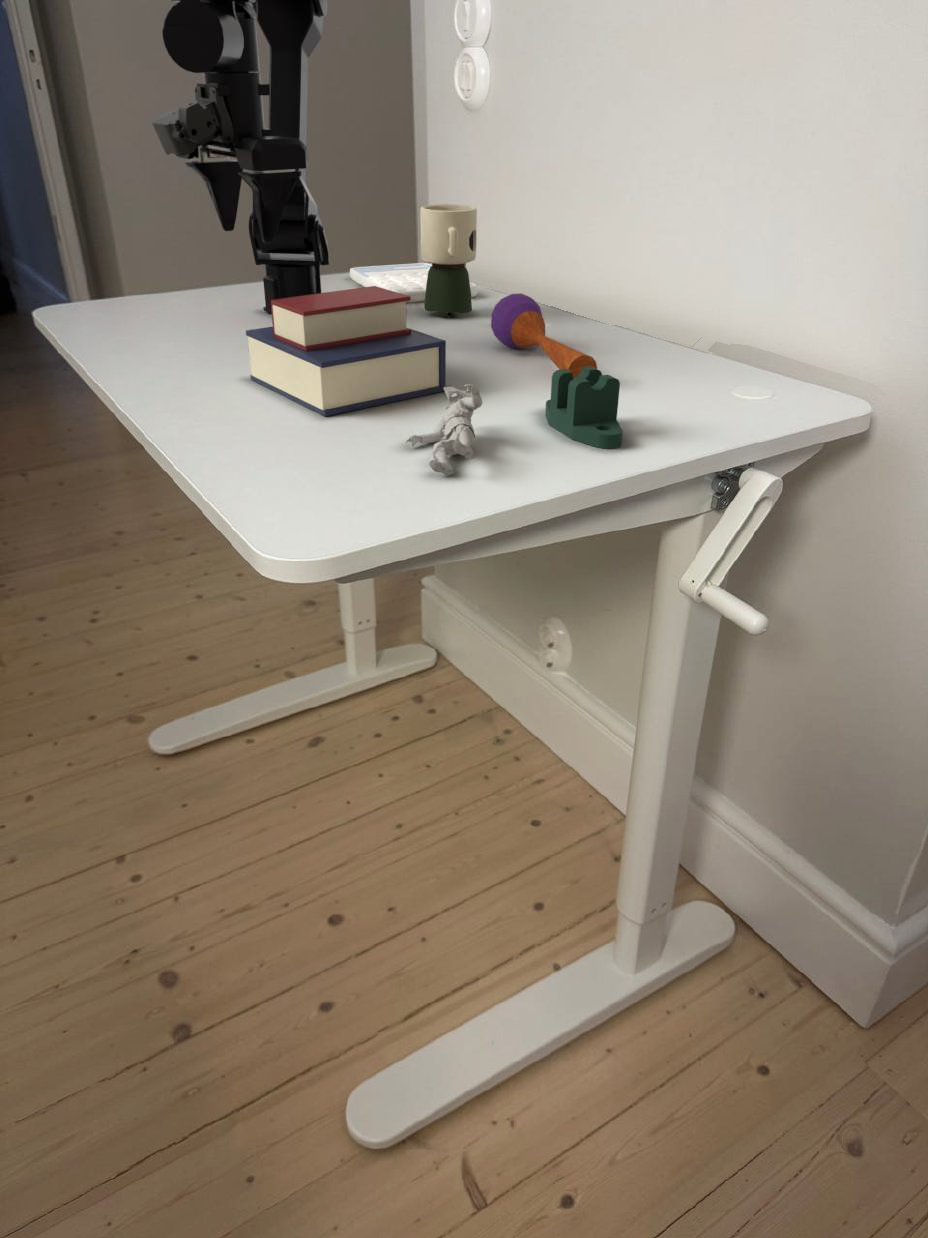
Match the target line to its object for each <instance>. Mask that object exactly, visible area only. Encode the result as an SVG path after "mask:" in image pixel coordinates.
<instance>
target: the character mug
mask: <svg viewBox="0 0 928 1238" xmlns="http://www.w3.org/2000/svg"><path fill="white" fill-rule="evenodd" d="M419 211H420V215H419V216H420V222H419V223H420V260H422V261H423V262H425V263H428V264H431V265H432V266H431V267H430V269H429V271H428V277H427V285H426V293H425V301H424V307H423V309H424V311H426V312H431V313H446V315H447V317H452V316H453V314H460V315H461V314H468V313H470V312H472V311H473V303H472V297H471V290H470V282H471V281H470V275H469V271H468V269H467V264H468V263H471V262H473V261H475V260H476V258H477V228H478V227H477V226H478V225H477V224H478V221H477V220H478V208H477V207H475V206H473V205H465V204H450V203H449V204H448V203H447V204H446V203H445V204H444V203H442V204H441V203H440V204H428V205H423V206H421V207H420V209H419Z"/></svg>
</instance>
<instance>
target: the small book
mask: <svg viewBox="0 0 928 1238" xmlns="http://www.w3.org/2000/svg"><path fill="white" fill-rule="evenodd" d="M410 300H411V297H410V296H407V295H404V294H400V293H397V292H394V291H390V290H387V289H383V288H380V287H377V286H371V287H364V286H362V287H357V288H349V289H341V290H335V291H327V292H321V293H319V294H311V295H304V296H297V297H289V298H282V299H274V300H271V310H272V314H271V318H272V319H271V322H272V327H273V333H274V338H276V339H278V340H281V341H283V342H286V343H288V344H290V345H293V346H295V347H298V348H300V349H302V350H305V351H311V350H317V349H323V348H328V347H334V346H340V345H346V344H352V343H358V342H364V341H369V340H375V339H381V338H387V337H393V336H399V335H405V334H410V333H411V329H412V328H409V327H407V302H406V301H410ZM408 328H409V329H408Z"/></svg>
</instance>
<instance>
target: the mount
mask: <svg viewBox="0 0 928 1238" xmlns="http://www.w3.org/2000/svg"><path fill="white" fill-rule="evenodd" d="M620 386H621V382H620V380H619V379H618V378H616V377H614V376H612V375H610V374H603V373H602V371H601V369H598V368H597V369H596V368H594V367H592V366H586V367H583V368H582V371H581V373H580V374H579V375H578V376H577V377H574V378H573V375H572V372H571V371H569V370H567V369H560V370H559V369H556V370H555V371H554V372H553V373H552V375H551V386H550V387H551V388H550V399H547V400H546V401H545V413H544V414H545V419H546V422H547V424H548V425H549V427H552V428H553V429H555V430H556V431H558V432H559V433H561V434H562V435H564V436H566V437H568V438H569V439H570V440H572V441H576V442H579V443H583V444H585V445H589V446H592V447H595V448H598V449H604V450H605V449H607V450H609V449H611V450H612V449H617V448H621V446H622V443H623V432H624V430H623V428H622V426H621V425H620V423H619V422H618V420H617V419H618V418H617V417H618V411H619V410H618V409H619V398H620V388H621V387H620Z"/></svg>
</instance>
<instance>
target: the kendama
mask: <svg viewBox="0 0 928 1238" xmlns="http://www.w3.org/2000/svg"><path fill="white" fill-rule="evenodd" d="M490 320H491V321H490V326H491V330H492V333H493V336H494V337H495V338H496V339H497V340H498V341H499V342H500V343H501V344H502V345H503V346H506V347H508V348H511V349H518V348H521V349H530V348H533V347H536V346H539V347H540V349H542V350H543V352H544V353H545V354H546V355H547V357H548V358H549V359H550V360H551V361H552V363H553V364H554V365H555V366H556V368H557V369H558V370H560V369H567V370H569V371H571V372H572V375H573V378H574V377H577V376H578V375H579V374H580V373H581V371H582V368H583V367H586V366H592V367H594V368H596V369H598V365H597V361H596V360H595V359H594V358H593V356H591V355H588V354H586V353H584V352H582V351H580V350H578V349H575V348H573V347H571V346H569V345H567V344H564V343H562V342H560V341H558V340H555V339H553V338H551V337H549V336H547V335H546V322H545V318H544V316H543V312H542V309H541V307H540V305H539V303H537V302H536V300H535V299H533V298H532V297H531V296H529V295H526V294H524V293H522V292H521V293H511V294H509V295H506V296H504V297H502V298H500V299H499V301H498V302H497V303H496V304H495V305H494V308H493V309H492V312H491V319H490Z"/></svg>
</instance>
